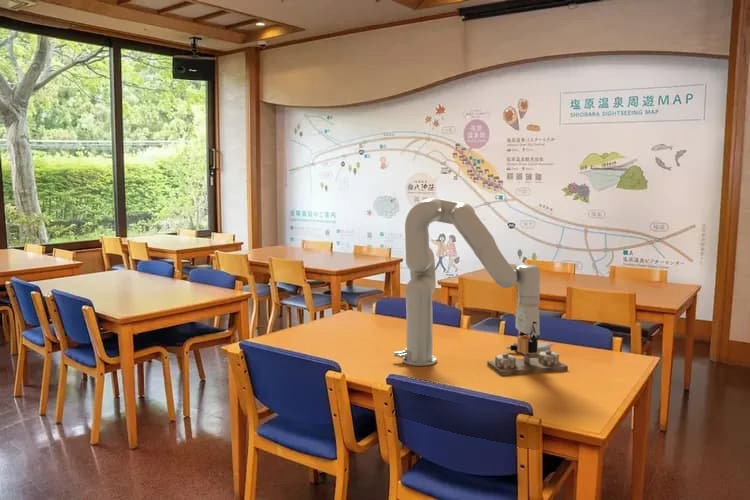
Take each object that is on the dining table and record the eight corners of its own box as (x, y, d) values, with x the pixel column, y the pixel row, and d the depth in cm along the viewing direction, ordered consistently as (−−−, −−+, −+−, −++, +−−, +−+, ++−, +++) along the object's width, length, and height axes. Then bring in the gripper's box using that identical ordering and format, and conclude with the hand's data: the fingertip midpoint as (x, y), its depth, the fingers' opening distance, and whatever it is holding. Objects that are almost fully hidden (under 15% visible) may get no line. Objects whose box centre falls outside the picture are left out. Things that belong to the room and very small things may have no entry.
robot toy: (504, 355, 237) (537, 360, 226) (504, 343, 237) (537, 348, 226) (523, 349, 245) (556, 354, 234) (523, 338, 245) (556, 342, 234)
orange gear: (522, 354, 214) (522, 340, 213) (514, 349, 220) (514, 335, 220) (541, 353, 215) (541, 339, 214) (532, 348, 222) (532, 334, 221)
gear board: (500, 375, 210) (500, 359, 209) (487, 365, 222) (487, 350, 221) (567, 370, 215) (568, 355, 214) (551, 360, 227) (551, 345, 226)
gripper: (508, 296, 223) (507, 343, 225) (529, 305, 206) (528, 357, 208) (527, 295, 225) (526, 342, 227) (550, 304, 208) (549, 355, 210)
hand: (527, 349), depth 218 cm, fingers closed on orange gear, 7 cm apart
